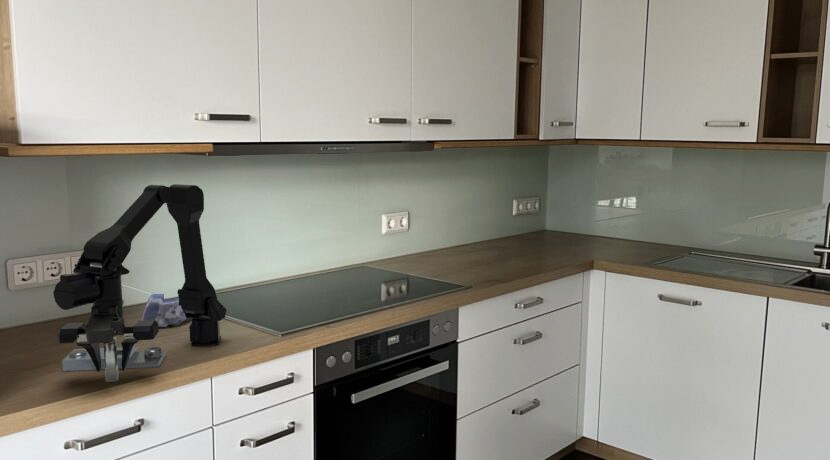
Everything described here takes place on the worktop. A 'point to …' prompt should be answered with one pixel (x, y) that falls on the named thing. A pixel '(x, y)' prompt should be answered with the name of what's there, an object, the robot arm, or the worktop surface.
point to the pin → (111, 361)
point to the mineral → (163, 311)
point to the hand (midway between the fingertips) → (111, 370)
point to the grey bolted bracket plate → (137, 359)
